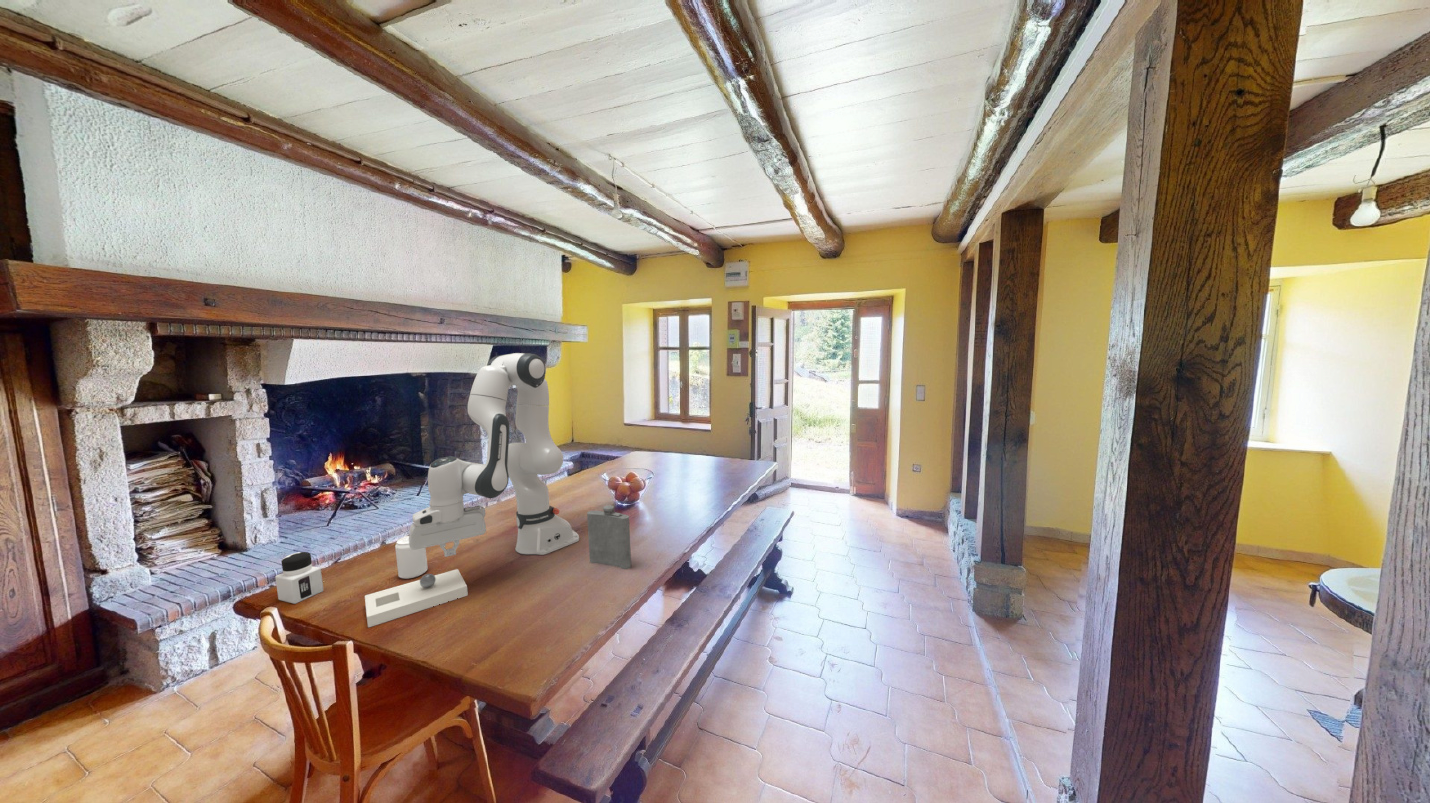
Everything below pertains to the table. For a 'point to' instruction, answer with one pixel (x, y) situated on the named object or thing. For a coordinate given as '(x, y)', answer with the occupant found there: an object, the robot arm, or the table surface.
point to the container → (298, 578)
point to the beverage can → (410, 559)
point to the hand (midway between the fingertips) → (450, 555)
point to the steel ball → (427, 580)
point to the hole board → (413, 597)
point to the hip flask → (609, 538)
